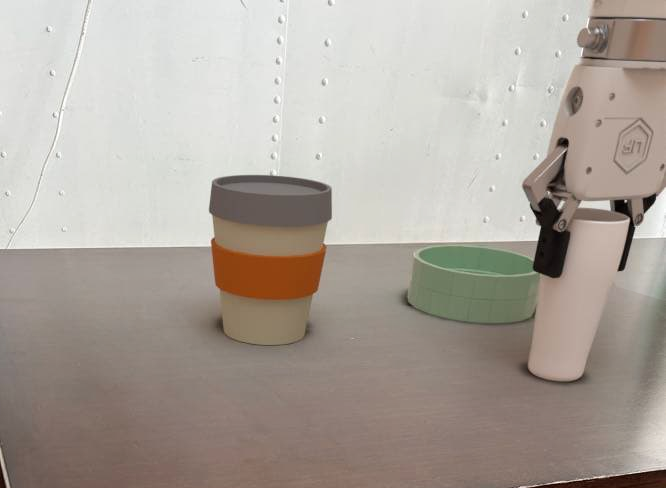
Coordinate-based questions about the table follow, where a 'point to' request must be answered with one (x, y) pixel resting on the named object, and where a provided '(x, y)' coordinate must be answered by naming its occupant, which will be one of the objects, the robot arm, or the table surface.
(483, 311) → the green plastic ring
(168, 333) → the table surface
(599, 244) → the drinking glass
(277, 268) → the reusable coffee cup
